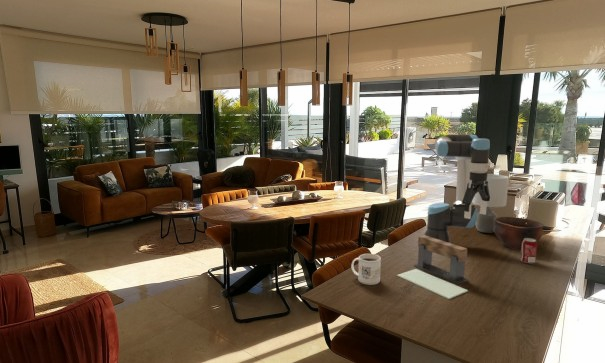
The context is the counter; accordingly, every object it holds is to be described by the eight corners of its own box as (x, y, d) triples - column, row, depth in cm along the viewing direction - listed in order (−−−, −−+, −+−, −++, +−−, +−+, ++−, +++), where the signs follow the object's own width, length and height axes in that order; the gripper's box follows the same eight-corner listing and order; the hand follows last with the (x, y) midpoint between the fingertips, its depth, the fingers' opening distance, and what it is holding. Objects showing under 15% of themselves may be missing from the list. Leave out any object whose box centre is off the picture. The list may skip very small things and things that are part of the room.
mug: (365, 286, 167) (366, 263, 166) (350, 276, 178) (350, 254, 176) (384, 282, 172) (385, 259, 170) (368, 272, 183) (368, 250, 181)
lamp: (464, 226, 260) (468, 173, 254) (496, 227, 257) (501, 174, 251) (473, 235, 240) (478, 178, 233) (508, 237, 237) (514, 179, 231)
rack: (414, 266, 190) (415, 243, 188) (423, 263, 194) (424, 240, 192) (458, 284, 170) (460, 258, 168) (467, 280, 174) (469, 255, 172)
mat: (397, 276, 179) (397, 274, 179) (415, 269, 186) (415, 268, 186) (448, 299, 156) (449, 298, 156) (467, 291, 163) (467, 290, 163)
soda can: (537, 264, 192) (539, 242, 190) (522, 263, 194) (525, 241, 192) (532, 260, 199) (534, 238, 197) (518, 259, 200) (520, 237, 198)
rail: (417, 246, 189) (418, 236, 188) (423, 245, 191) (423, 234, 190) (461, 262, 170) (462, 250, 169) (466, 260, 172) (467, 248, 171)
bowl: (535, 242, 227) (537, 217, 225) (546, 256, 204) (549, 229, 202) (489, 237, 235) (491, 214, 233) (494, 251, 212) (497, 224, 210)
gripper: (471, 175, 167) (468, 221, 171) (500, 170, 182) (496, 213, 185) (456, 173, 173) (452, 218, 177) (484, 169, 188) (481, 210, 191)
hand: (475, 216), depth 181 cm, fingers open, 13 cm apart
